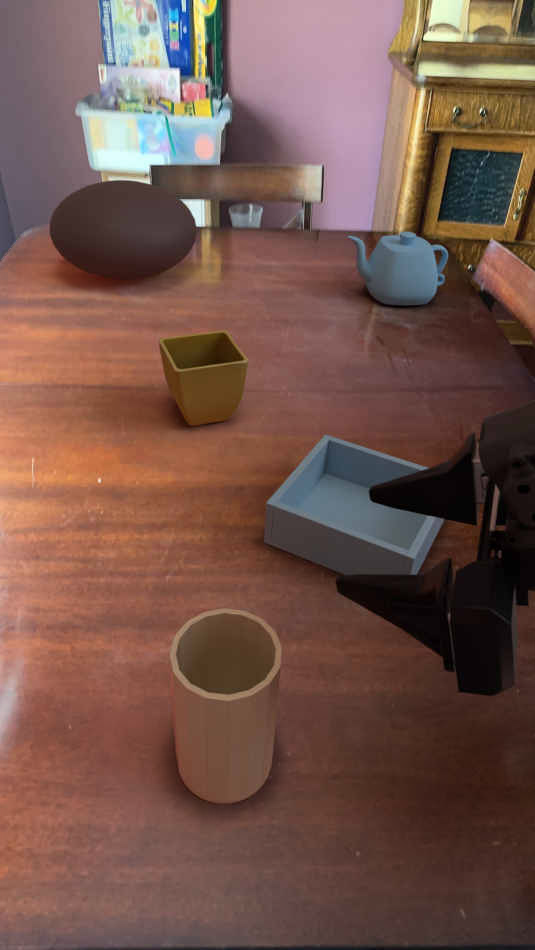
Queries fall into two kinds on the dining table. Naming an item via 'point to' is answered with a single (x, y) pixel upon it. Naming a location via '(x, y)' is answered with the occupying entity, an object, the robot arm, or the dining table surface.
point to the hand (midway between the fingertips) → (354, 535)
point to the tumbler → (225, 703)
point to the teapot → (401, 269)
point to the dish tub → (348, 513)
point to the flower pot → (204, 375)
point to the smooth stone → (123, 229)
